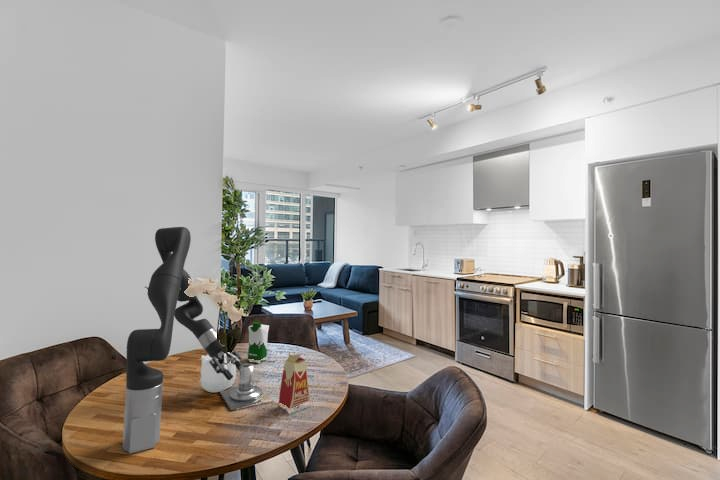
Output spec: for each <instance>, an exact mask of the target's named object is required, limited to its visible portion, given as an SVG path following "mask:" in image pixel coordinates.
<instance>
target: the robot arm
mask: <svg viewBox="0 0 720 480" xmlns="http://www.w3.org/2000/svg"><path fill="white" fill-rule="evenodd" d="M191 237H192V236H191V232H190V230H189V229H188V228H187V227H185V226H174V227H173V226H172V227H164V228H163V227H161V228H159V229H157V230H156V232H155V235H154V242H155V246H156V249H157V251H158V255H159V256H160V258H161V260H162V264H161V265H159V266H158V267H157V269H155V271H154V272H153V273H152V275H151V277H150V280H149V284H148V288H147V297H148V300H149V302H150V303H151V305H152V307H153V308H154V310H155V311H156V314H157V315H158V318H159V320H160V327H159V328H147V329H146V328H143V329H142V328H141V329H134V330H133V331H131V332H130V333H129V335H128V336H127V337H128V338H127V341H126V374H125V375H126V379H125V380H126V383H125V398H124V399H125V400H124V414H123V432H122V450H123V451H125V452H128V454H129V455H131V454H134V453H137V452H138V453H139V452H143V451H146V450H149V449H154V448H155V447H156V445H157V444H158V443H159V441H160V439H161V438H160V437H161V423H162V422H161V420H162V403H163V402H162V401H163V388H164V387H163V386H164V373H163V371H161V370H160V369H158V368H154V367H151V366H149V365H147V364H145V363H146V362H159V361H164V360H166V359H167V358H168V356H169V353H170V350H171V345H172V337H173V329H174V328H173V327H174V321H175V320H176V321H177V322H178V323H179V324H181V325H182V326H184V327H185V328H187V329H188V330H189V331H190V332H192V334H193V335H194V336H195V338H196V339H197V340H198V342H199V344H200V346H201V347H202V348H203V349H204V351H205V352H206V354H207V355H208V356H209V357H210V358H211V359H210V360H209V361H208V362H209V364H210V366H211V367H212V368H213V370H214V371H215V372H216V374H223V376H224V377H225V378H226V379H227V381H231V380H232V379H233V378H234V375H233V374H232V372H231V371H230V369H228V367H227V366H228V365H227V364H230V363H229V362H230V361H231V364H232V365H234V366H235V367H236V369H237V371H239V366H240V365H242V364H243V363H241V360H242V359H243V358H242V356H241V355H240V354H239V352H238V351H236V349H235V348H234V350H233V352H232V353H230V352H227V353H224V352H222V349H223V348H224V347H225V345H222V344H221V343H220V340H219V342H217V332H218V331H217V330H216V329H215V327H214V326H213V325H212V324H211V322H210V321H209V320H208V319H207V318H202V319H198V320H197V317H199V316H201V315H202V314H203V311H204V308H203V307H204V306H203V304H202V303H201V301H200V300H199V298H198V296H197V295H196V296H194V297H189V296H187V295H186V294H185V293H184V291H185V290H186V289H187V288H188V286H189V284H188V280H189V279H188V278H190V279H191V280H192V277H191V276H190V274H189V273H188V272H187V271H186V270H185V268H184V267H185V264H186V259H187V257H188V253H189V249H190V246H191V241H192V240H191ZM180 288H181V290H180ZM178 302H180V303H182V302H186V303H184V304H182V305H180V306H178V307H177V303H178ZM195 319H196V320H195ZM144 362H145V363H144Z"/></svg>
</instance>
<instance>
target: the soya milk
mask: <svg viewBox="0 0 720 480" xmlns="http://www.w3.org/2000/svg"><path fill="white" fill-rule="evenodd" d="M247 327H248V351H247V360H248V359H254V360H261V359H263V358H264V357H266V356H267V357H268V353H267V352H268V338H269V337H268V335H269V330H270V325H267V324H262V322H260V321H253V322H252V325H249V326H247Z"/></svg>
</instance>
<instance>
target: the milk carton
mask: <svg viewBox="0 0 720 480" xmlns="http://www.w3.org/2000/svg"><path fill="white" fill-rule="evenodd" d="M287 355H288V357H287V359H286V360H285V362H284V365H283V370H282V377H281V382H280V388H279V396H278V404H279V403H282V404H284V405H286V406H287V407H288V408H290V409H291V408H293V407H296V406H298V405H300V404H303V403H305V402H308V401H310V402H311V398H310V397H311V396H310V389H309V388H310V387H309V378H308V368H307V359H304V358H303V357H301V355H302V354H301V353H298V354H297V353H296V354H292V353H287Z"/></svg>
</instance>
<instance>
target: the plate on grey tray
mask: <svg viewBox="0 0 720 480" xmlns="http://www.w3.org/2000/svg"><path fill="white" fill-rule="evenodd" d="M254 387H255V391H254V393H252V394H250V395H238V394H237V388H238V386H234V387H229V388H230V389H228V388H227V389H228V390H225V391H220V393H219V395H220V394H221V395H222V396H221V395H220V396H221V398H222V397H223V398H222V399H224V400H225V401H224V400H223V401H224V403H225V402H226V403H227V405H228V406H229V408H230V409H229V408H228V409H229V411H230V410H234V409H237V408H242V407H245V406H249V405H252V404H256V403H259V402H261V400H259V397H260V396H261V395H262V389H261V388H260V387H257V386H254ZM226 403H225V404H226ZM227 405H226V406H227ZM228 406H227V407H228Z"/></svg>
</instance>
